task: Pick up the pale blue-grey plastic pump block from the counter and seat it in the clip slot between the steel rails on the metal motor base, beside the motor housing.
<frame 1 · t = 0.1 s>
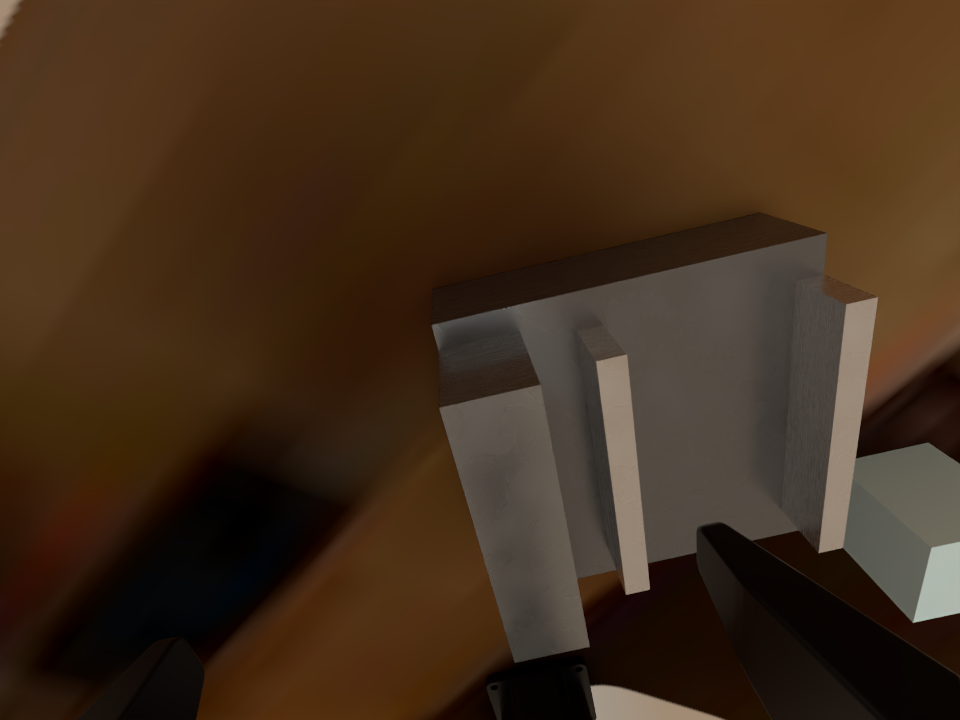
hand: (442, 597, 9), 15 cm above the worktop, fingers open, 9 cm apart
pump block: (875, 488, 29), on the worktop
motor base: (611, 393, 24), on the worktop
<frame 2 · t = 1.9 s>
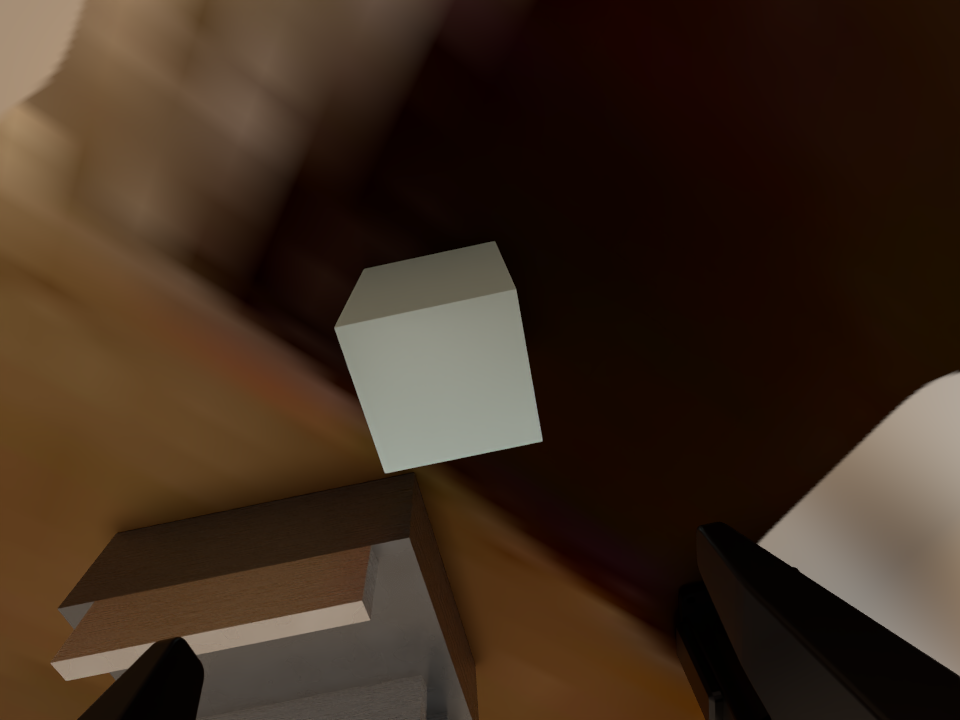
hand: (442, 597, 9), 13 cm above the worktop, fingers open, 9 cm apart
pump block: (444, 316, 20), on the worktop
motor base: (315, 606, 26), on the worktop
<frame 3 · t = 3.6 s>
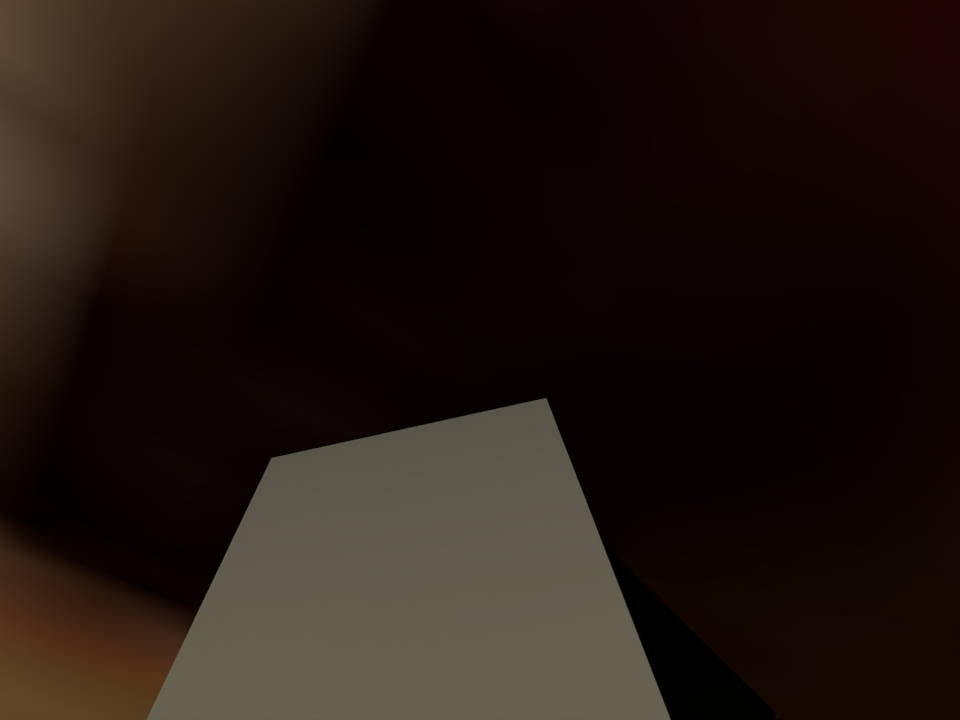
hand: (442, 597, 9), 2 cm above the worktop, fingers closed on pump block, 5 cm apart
pump block: (441, 531, 10), on the worktop, touching gripper
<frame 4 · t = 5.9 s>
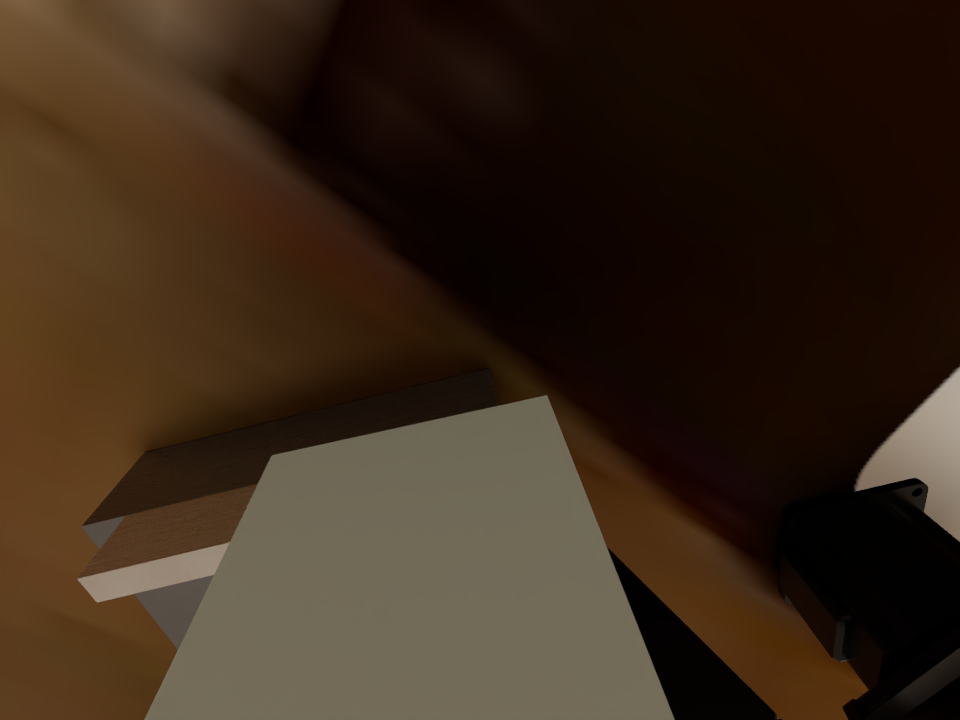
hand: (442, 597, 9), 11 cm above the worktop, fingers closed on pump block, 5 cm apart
pump block: (441, 528, 10), point 10 cm above the worktop, touching gripper
motor base: (372, 539, 23), on the worktop
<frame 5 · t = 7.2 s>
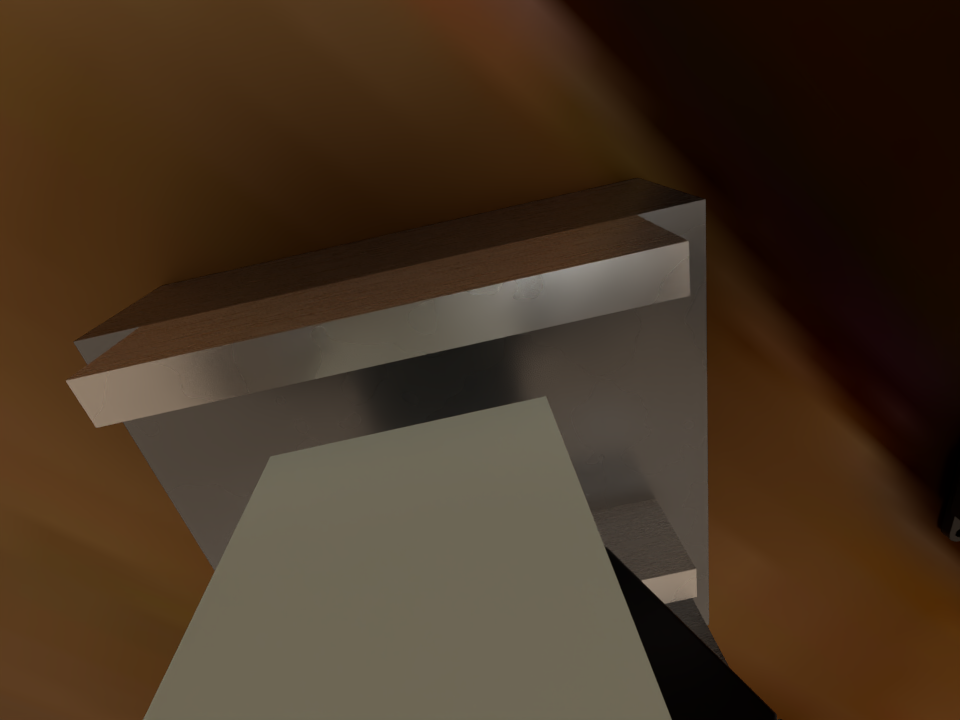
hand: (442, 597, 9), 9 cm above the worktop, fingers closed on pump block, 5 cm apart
pump block: (440, 529, 10), point 7 cm above the worktop, touching gripper
motor base: (452, 431, 18), on the worktop
when the fingers open (6 cm above the worktop, at t = 8.1 s): pump block stays where it is, resting on motor base.
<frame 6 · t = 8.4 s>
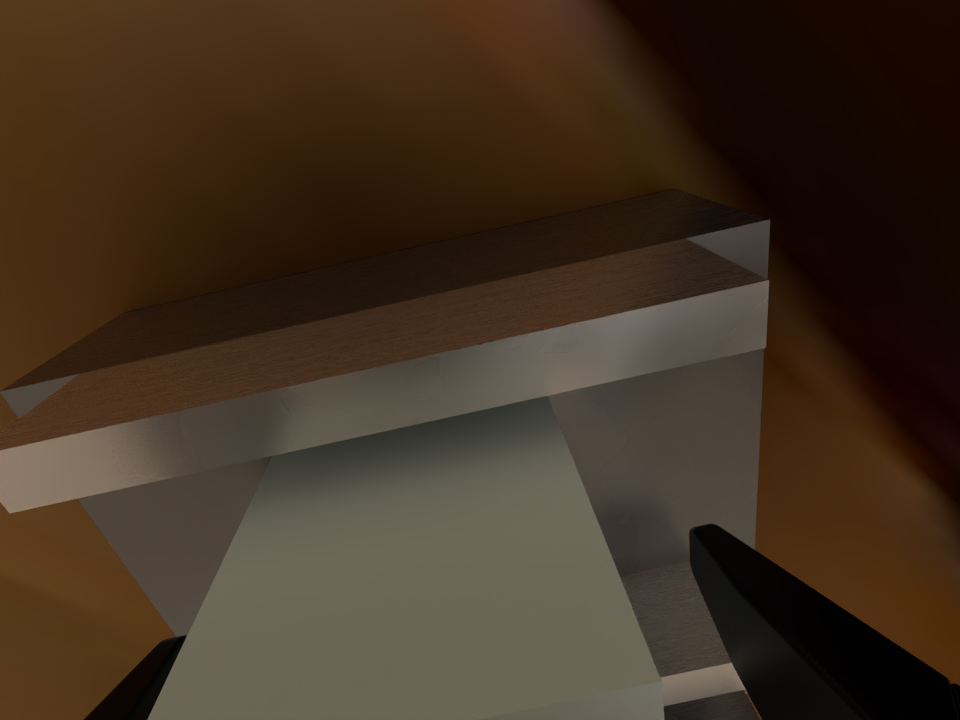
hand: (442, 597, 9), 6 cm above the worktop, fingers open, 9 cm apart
pump block: (441, 497, 11), point 4 cm above the worktop, touching motor base
motor base: (457, 472, 16), on the worktop
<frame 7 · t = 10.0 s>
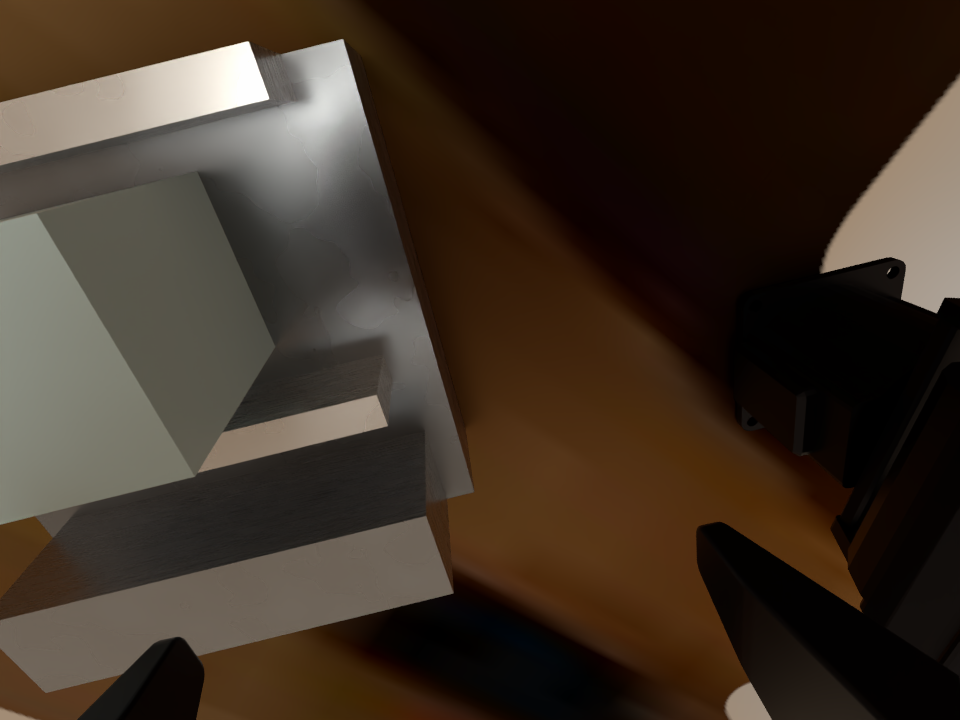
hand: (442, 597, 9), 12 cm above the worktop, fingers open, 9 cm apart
pump block: (150, 287, 14), point 4 cm above the worktop, touching motor base
motor base: (235, 319, 19), on the worktop
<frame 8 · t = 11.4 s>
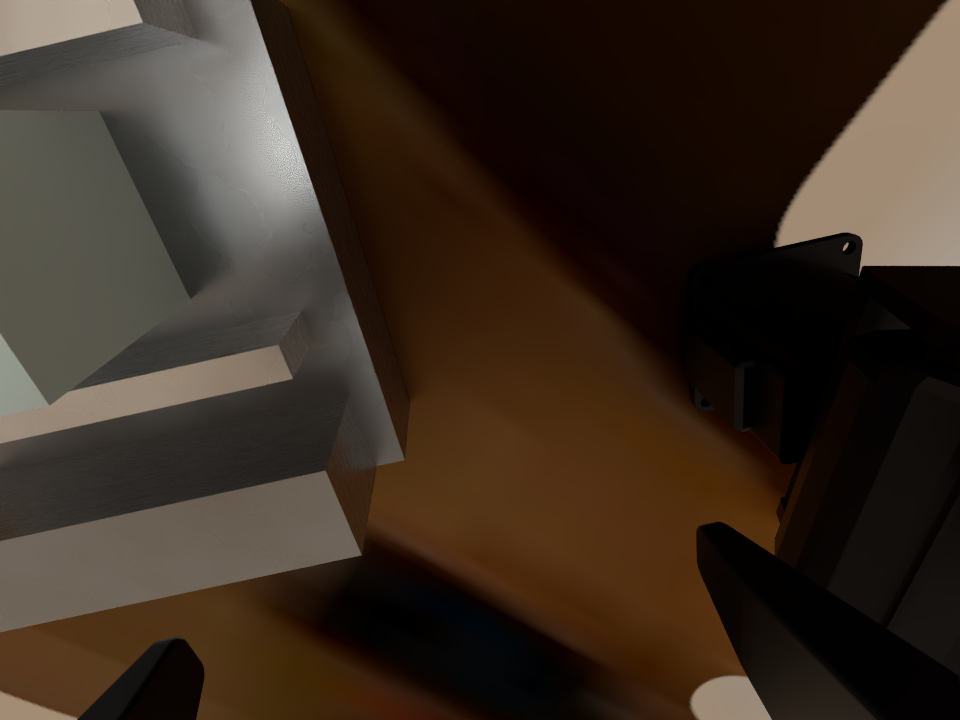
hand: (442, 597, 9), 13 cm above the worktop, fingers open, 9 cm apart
pump block: (58, 233, 14), point 4 cm above the worktop, touching motor base
motor base: (170, 279, 18), on the worktop
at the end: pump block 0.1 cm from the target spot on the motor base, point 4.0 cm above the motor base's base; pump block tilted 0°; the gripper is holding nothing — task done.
